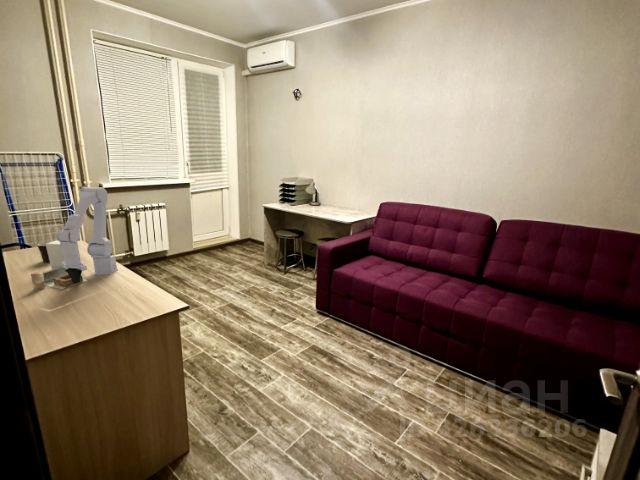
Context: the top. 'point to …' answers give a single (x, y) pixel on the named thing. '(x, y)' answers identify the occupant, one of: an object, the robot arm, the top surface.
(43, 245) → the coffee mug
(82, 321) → the top surface
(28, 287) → the top surface
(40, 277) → the dowel
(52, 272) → the wall
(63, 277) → the brown wooden square frame
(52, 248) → the skincare box
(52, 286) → the board
